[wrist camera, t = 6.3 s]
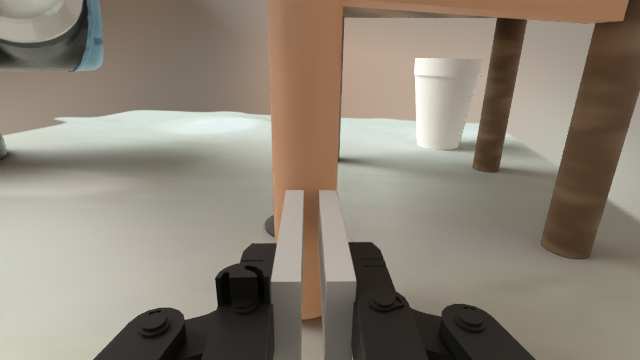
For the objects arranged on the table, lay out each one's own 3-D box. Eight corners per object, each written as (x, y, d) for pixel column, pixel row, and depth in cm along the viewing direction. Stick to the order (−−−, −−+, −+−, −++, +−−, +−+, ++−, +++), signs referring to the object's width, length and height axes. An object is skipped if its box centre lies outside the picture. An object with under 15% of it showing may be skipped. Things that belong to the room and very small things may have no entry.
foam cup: (394, 142, 58) (402, 57, 53) (432, 136, 63) (441, 58, 58) (443, 155, 50) (456, 58, 46) (481, 147, 55) (496, 59, 51)
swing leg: (528, 235, 26) (586, -13, 21) (567, 255, 24) (645, -22, 18) (270, 289, 20) (259, -53, 14) (284, 325, 17) (277, -77, 12)
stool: (256, 237, 27) (242, -79, 20) (311, 154, 49) (313, -6, 43) (616, 269, 23) (739, -96, 17) (497, 164, 46) (529, -7, 40)
